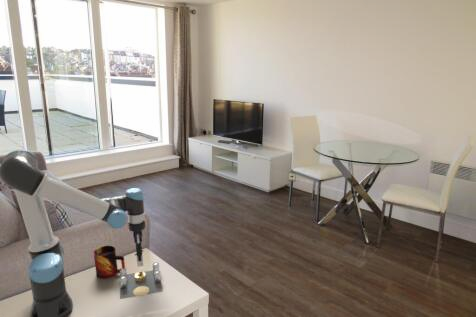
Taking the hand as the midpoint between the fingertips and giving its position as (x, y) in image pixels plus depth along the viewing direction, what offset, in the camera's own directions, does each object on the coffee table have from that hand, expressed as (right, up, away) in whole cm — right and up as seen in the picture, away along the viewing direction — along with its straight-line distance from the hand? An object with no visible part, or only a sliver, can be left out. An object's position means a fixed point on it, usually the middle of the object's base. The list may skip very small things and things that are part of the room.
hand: (140, 265), depth 166 cm
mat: (+3, -6, -8) cm, 11 cm away
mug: (-14, -3, 0) cm, 14 cm away
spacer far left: (-6, -4, -5) cm, 9 cm away
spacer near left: (-4, -6, -12) cm, 14 cm away
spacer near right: (+10, -5, -7) cm, 14 cm away
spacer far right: (+8, -3, -1) cm, 9 cm away
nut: (+2, -5, -6) cm, 8 cm away
